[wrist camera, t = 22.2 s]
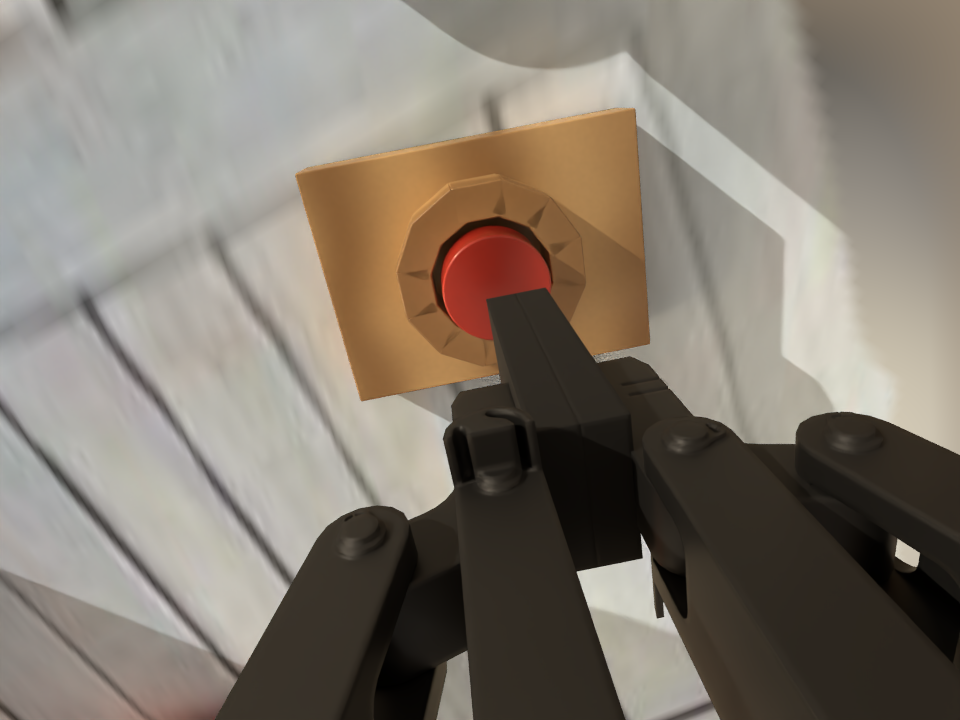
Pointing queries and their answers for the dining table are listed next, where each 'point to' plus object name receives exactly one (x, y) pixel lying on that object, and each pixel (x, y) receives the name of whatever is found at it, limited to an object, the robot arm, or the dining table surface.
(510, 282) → the button
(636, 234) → the button block
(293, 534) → the dining table surface
